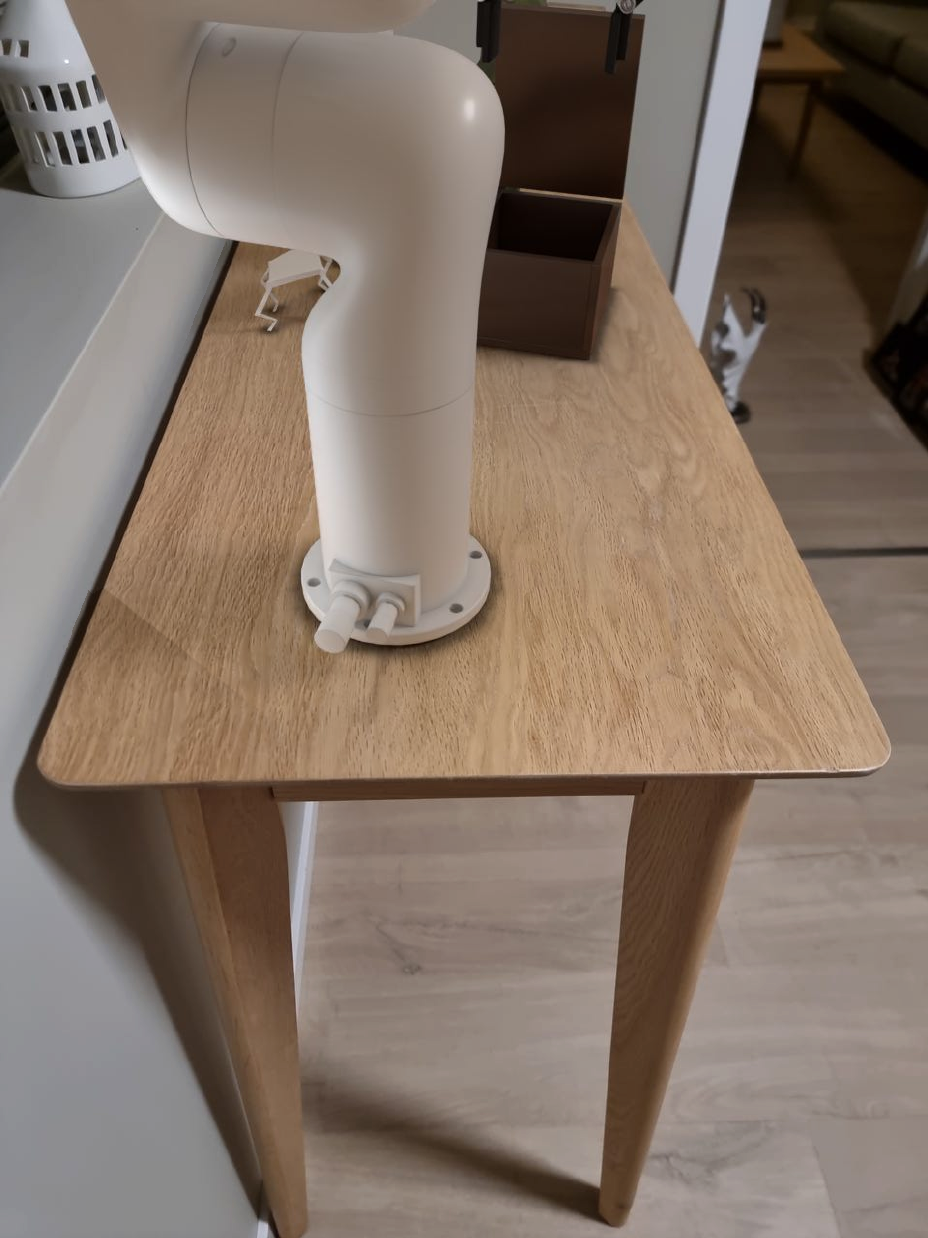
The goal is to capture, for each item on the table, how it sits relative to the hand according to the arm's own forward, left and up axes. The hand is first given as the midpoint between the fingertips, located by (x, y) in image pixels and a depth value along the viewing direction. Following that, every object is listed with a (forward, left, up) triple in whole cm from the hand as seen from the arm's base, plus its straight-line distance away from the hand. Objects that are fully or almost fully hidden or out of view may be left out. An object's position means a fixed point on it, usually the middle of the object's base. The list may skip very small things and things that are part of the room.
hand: (549, 64), depth 72 cm
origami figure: (0, +22, -23) cm, 32 cm away
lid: (+10, 0, -6) cm, 11 cm away
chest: (+5, 0, -23) cm, 23 cm away
